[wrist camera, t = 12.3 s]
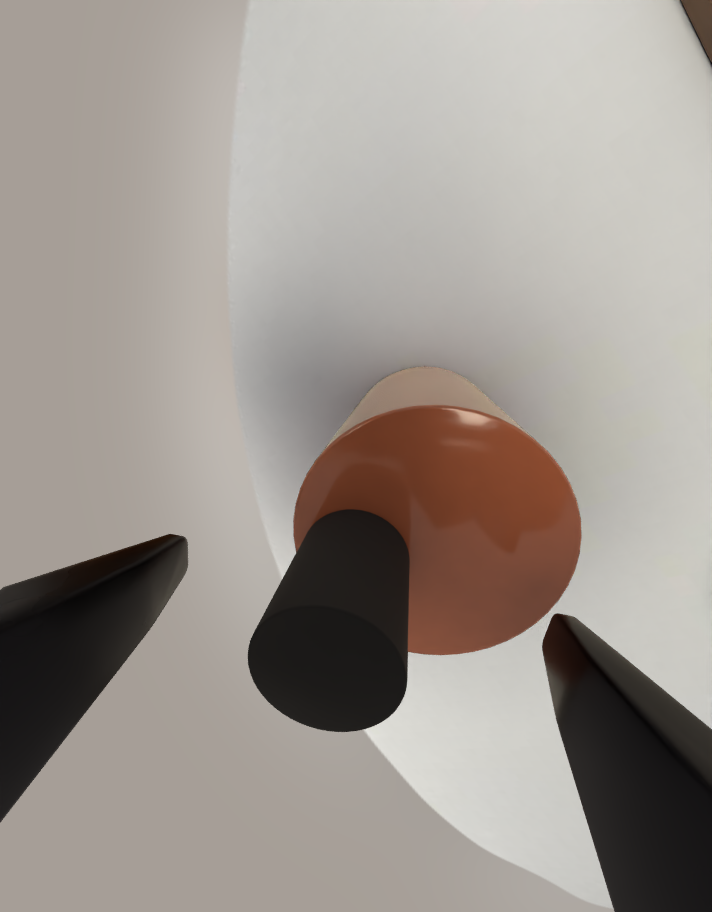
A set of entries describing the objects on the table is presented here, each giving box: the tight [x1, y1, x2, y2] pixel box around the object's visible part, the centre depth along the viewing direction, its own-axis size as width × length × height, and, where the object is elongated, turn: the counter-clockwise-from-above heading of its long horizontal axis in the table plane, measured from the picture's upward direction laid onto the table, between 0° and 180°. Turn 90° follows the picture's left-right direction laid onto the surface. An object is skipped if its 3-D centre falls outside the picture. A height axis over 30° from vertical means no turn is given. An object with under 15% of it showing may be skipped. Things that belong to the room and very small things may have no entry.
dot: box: [248, 509, 410, 732], centre depth 9 cm, size 3×3×4 cm
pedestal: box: [293, 366, 581, 655], centre depth 16 cm, size 8×8×11 cm
